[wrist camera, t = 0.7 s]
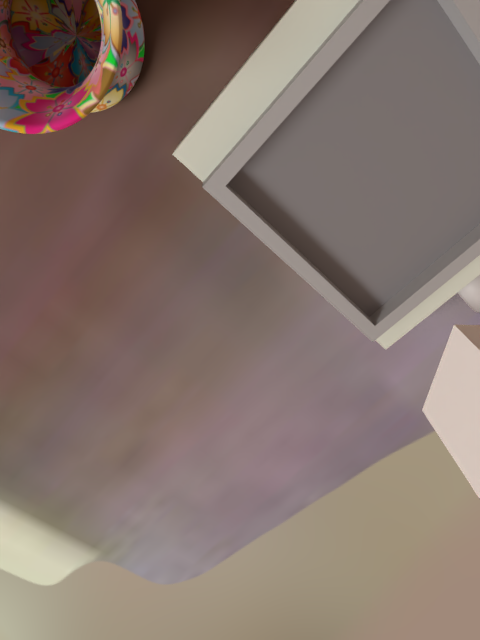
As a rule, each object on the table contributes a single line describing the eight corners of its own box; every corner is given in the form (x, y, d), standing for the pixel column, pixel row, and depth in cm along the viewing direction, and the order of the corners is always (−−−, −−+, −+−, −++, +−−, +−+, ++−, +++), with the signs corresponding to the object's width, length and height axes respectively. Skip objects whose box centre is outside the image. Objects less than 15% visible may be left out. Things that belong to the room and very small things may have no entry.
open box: (177, 146, 30) (170, 157, 25) (364, -86, 24) (401, -128, 20) (396, 350, 39) (421, 386, 35) (566, 215, 34) (625, 236, 29)
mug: (91, -99, 24) (12, -218, 14) (181, 71, 28) (164, 64, 19) (-68, 24, 26) (-225, -9, 17) (37, 164, 30) (-42, 199, 21)
